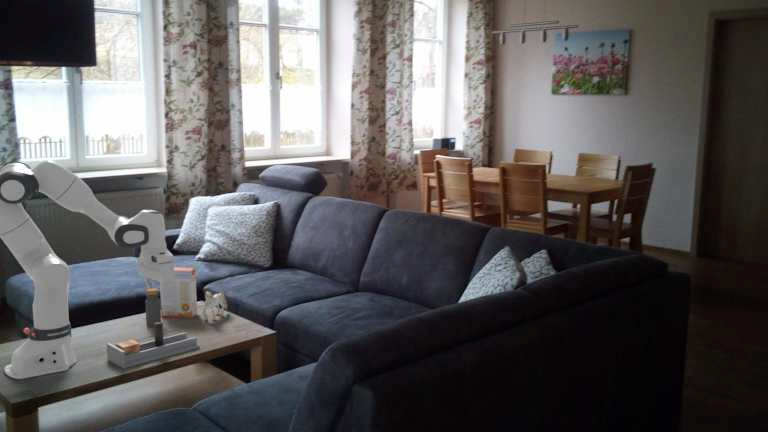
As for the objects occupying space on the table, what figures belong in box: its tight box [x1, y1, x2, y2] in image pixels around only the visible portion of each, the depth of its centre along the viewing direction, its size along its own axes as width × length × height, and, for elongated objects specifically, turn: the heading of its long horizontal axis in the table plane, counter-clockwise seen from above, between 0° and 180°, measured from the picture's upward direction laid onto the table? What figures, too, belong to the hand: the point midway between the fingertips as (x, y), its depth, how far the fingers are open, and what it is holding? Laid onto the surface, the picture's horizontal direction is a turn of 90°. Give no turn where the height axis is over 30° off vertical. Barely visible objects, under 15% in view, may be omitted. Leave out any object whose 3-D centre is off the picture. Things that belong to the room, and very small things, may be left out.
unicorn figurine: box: [202, 291, 228, 322], centre depth 297 cm, size 7×20×13 cm, turn 177°
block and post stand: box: [115, 321, 164, 355], centre depth 253 cm, size 16×6×10 cm, turn 136°
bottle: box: [144, 287, 162, 328], centre depth 289 cm, size 6×6×15 cm
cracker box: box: [159, 266, 198, 319], centre depth 301 cm, size 14×6×21 cm, turn 84°
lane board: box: [106, 332, 201, 369], centre depth 257 cm, size 30×12×6 cm, turn 136°
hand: (156, 290), depth 256 cm, fingers open, 8 cm apart
